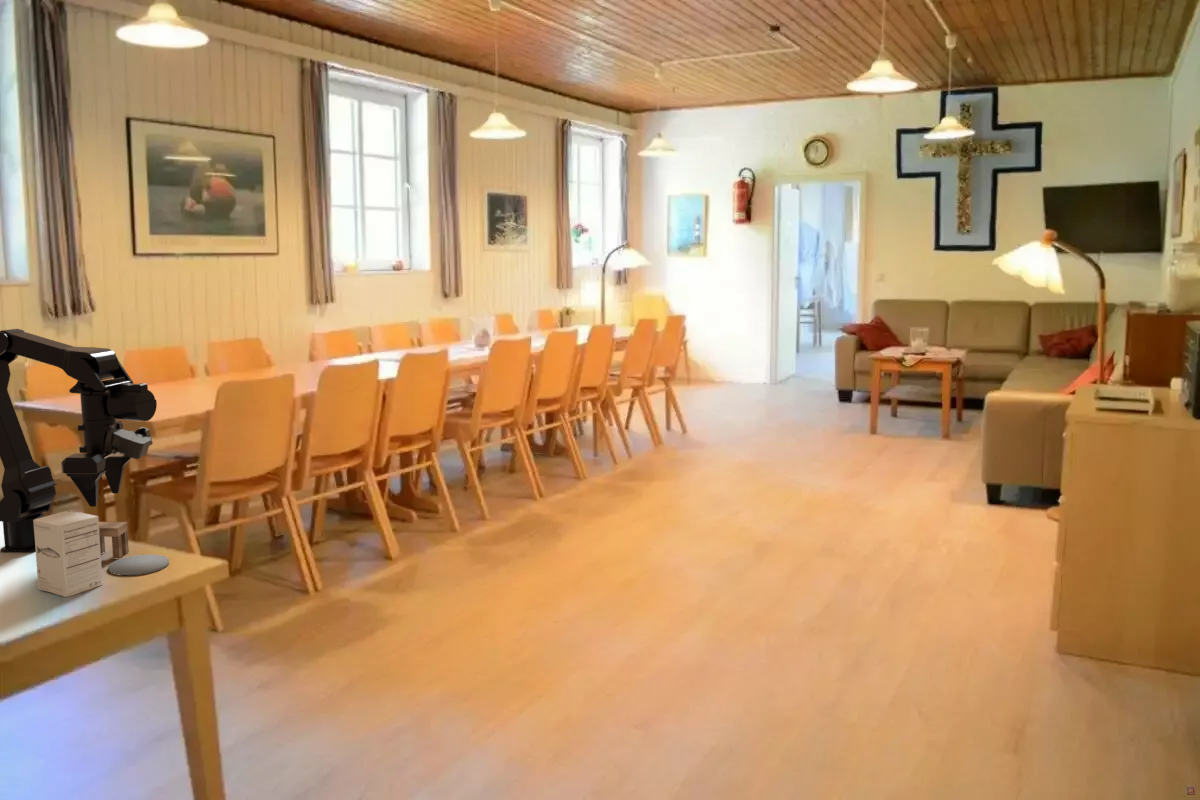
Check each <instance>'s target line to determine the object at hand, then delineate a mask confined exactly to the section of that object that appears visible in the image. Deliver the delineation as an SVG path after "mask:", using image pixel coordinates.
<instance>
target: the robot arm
mask: <svg viewBox="0 0 1200 800" xmlns="http://www.w3.org/2000/svg"><path fill="white" fill-rule="evenodd" d="M19 356H20V357H24V358H27V359H29V360H33V361H36V362H40V363H43V364H46V365H49V366H54V367H56V368H59V369H60V370H63V372H64V373H65V374H66V375H67V376H68V377H70V378H72V379H74V380H76V383H75V384H74V385H73V386H72V387H71V388H70V389H69V390H68V392H69V393H71V394H79V395H80V409H81V410H80V411H81V422H82V423H80V424H78V425H77V431H78V432H80V431H81V432H82V438H83V445H81V446H80V447H79V449H78V450H79V453H74V454H71V455H69V456H66V457H65V458H64V459H63V460H61V473H62V474H65V475H66V477H69V478H70V480H71V481H72V482H73V483H74V484H75V486H76V487H77V489H78V490H79V492H80V493H81V495H82V496H83V498H84V500H85V501H86V503H87V504H88V505H89V507H90V508H91V507H97V506H98V499H99V486H100V485H99V484H100V478H101V477H102V476H103V475H105V478H106V481H107V485H109V486H108V487H109V489H110V491H111V493H112V494H119V493H120V489H121V486H122V481H123V479H124V478H123V477H124V473H125V469H126V467H127V464H129V462H130V461H131V460H132V459H135V460H140V459H141V458H142V457H144V456H147V453H148V450H149V448H150V446H151V445H153V437H152V436H151V430H150V428H147V427H145V426H141V427H139V428H137V429H136V430H135V431H134V430H132V429H131V430H127V429H124V422H122V420H126V421H136V422H137V421H138V422H139V421H140V422H148V421H150V420H152V418H153V417H154V416H155V414H156V412H157V404H158V403H157V399H156V397H155V395H154V394H153V392H152V391H151V390H149V389H148V385H149V384H148V383H146V382H145V383H144V382H142V383H141V382H140V383H134V381H133V380H132V378H131V376H130V375H129V374H128V373H127V371H126V370H125V368H124V367H123V365H122V364H121V362H120V361H119V359H118V357H117V353H116V352H115V351H114V350H112V349H111V348H105V347H95V346H73V345H70V344H66V343H65V342H64V343H63V342H60V341H56V340H53V339H49V338H46V337H43V336H40V335H37V334H33V333H30V332H27V331H25V330H23V329H20V328H10V329H3V330H0V461H1V463H2V466H3V470H4V471H3V475H2V479H1V484H0V486H1V490H2V491H1V492H2V495H3V497H2V499H1V500H0V522H1V523H2V529H3V530H2V531H3V538H4V539H3V540H4V546H1V547H0V552H36V548H35V535H34V522H33V520H34V519H38V518H41V517H45V514H44V513H46V512H47V513H48V512H50V510H51V508H52V503H53V500H54V497H55V496H56V491H57V490H56V486H57V483H56V481H55V480H54V478H53V475H52V472H51V471H52V470H51V468H50V466H48V465H45V466H42V467H41V465H39V464H38V463H37V462H36V461H34V459H33V456H32V453H31V450H30V448H29V446H28V442H27V440H26V437H25V435H24V431H23V429H22V426H21V424H20V421H19V418H18V415H17V413H16V409H15V407H14V405H13V401H12V398H11V397H10V394H9V391H8V387H9V384H10V383H9V382H10V379H11V369H10V366H9V365H10V364H11V363H12V362H14V361H15V360H17V359H18V357H19Z"/></svg>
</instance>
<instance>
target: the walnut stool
mask: <svg viewBox="0 0 1200 800" xmlns="http://www.w3.org/2000/svg"><path fill="white" fill-rule="evenodd" d="M99 536H100V552H101V553H103V552H105V553H106V541H105V540H106V539H105V537H111V547H112V548H111V549H112V559H113V558H121V557H122V556H123V555H128V554H129V553H130V548H129V535H128V522H127V521H99ZM128 552H129V553H128ZM122 558H123V557H122ZM122 558H121V559H122Z"/></svg>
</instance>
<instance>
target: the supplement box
mask: <svg viewBox="0 0 1200 800" xmlns="http://www.w3.org/2000/svg"><path fill="white" fill-rule="evenodd" d="M33 522H34V535H35V548H36V551H35V558H36V560H35V561H36V571H37V572H36V573H37V575H36V576H37V587H38V590H39V591H44V592H48V593H51V594H55V595H58V596H61V597H63V598H68V597H71V596H73V595H77V594H80V593H83V592H86V591H89V590H92V589H95V588H98V587H100V585H101V586H103V572H102V571H103V570H102V569H103V568H102V556H101V555H102V554H101V552H100V536H99V522H100V521H99V516H98V515H94V514H91V513H90V514H89V513H85V512H81V511H76V510H72V509H70V510H66V511H65V510H64V511H61V512H57V513H54V514H49V515H46V516H45V515H44V517H41V518H38V519H34V520H33ZM97 586H98V587H97ZM94 587H95V588H94Z"/></svg>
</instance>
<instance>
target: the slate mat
mask: <svg viewBox="0 0 1200 800" xmlns="http://www.w3.org/2000/svg"><path fill="white" fill-rule="evenodd" d="M169 561H170V559H169V558H168V557H167V556H165V555H160V554H151V553H150V554H149V553H147V554H138V555H131V556H127V557H126V556H125V557H122V558H121V559H115V560H114V561H112V562H111V563H110V564H108V571H110V572H112V573H115V574H120V575H119V576H122V575H134V576H141V575H142V574H143V575H147V574H152V573H155V572H159V571H161V570H164V569H165V568H167V567H168V566H169ZM110 572H109V573H110ZM112 573H111V574H112ZM115 574H114V575H115Z"/></svg>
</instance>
